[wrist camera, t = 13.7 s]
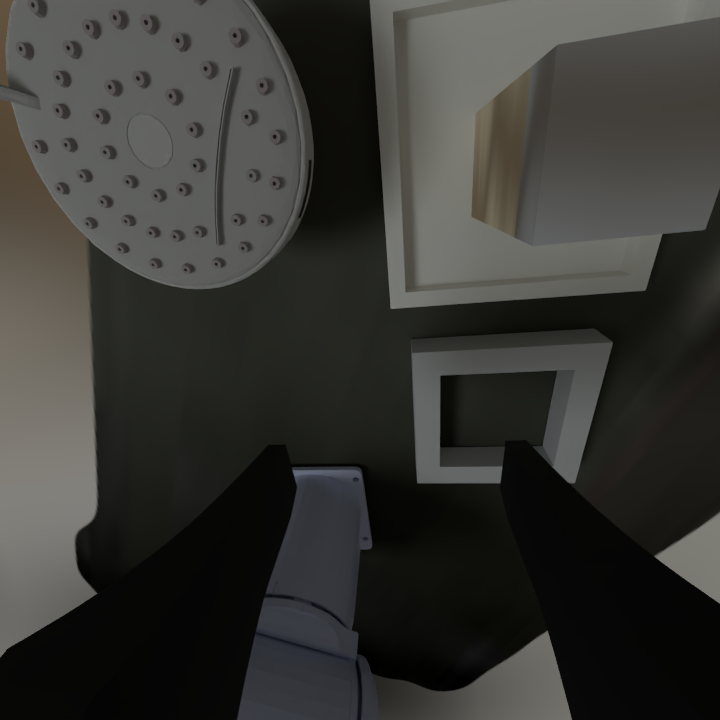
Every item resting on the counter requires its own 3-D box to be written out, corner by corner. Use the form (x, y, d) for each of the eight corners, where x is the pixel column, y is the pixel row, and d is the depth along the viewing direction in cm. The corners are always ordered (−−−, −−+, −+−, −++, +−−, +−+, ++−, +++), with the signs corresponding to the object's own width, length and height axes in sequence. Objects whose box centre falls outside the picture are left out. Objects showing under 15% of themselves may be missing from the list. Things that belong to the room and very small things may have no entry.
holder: (562, 462, 23) (574, 483, 21) (415, 463, 24) (417, 483, 23) (594, 328, 18) (613, 342, 17) (410, 339, 20) (412, 353, 18)
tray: (626, 282, 17) (645, 290, 16) (391, 299, 19) (390, 308, 17) (718, -63, 11) (760, -94, 10) (371, 4, 13) (368, -15, 12)
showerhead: (-120, -200, 7) (334, -28, 8) (125, -20, 13) (362, 67, 14) (-10, 244, 12) (270, 331, 12) (134, 222, 18) (313, 279, 18)
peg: (561, 207, 15) (704, 230, 8) (471, 216, 16) (532, 246, 9) (579, 97, 13) (783, 5, 6) (475, 113, 14) (557, 44, 7)
